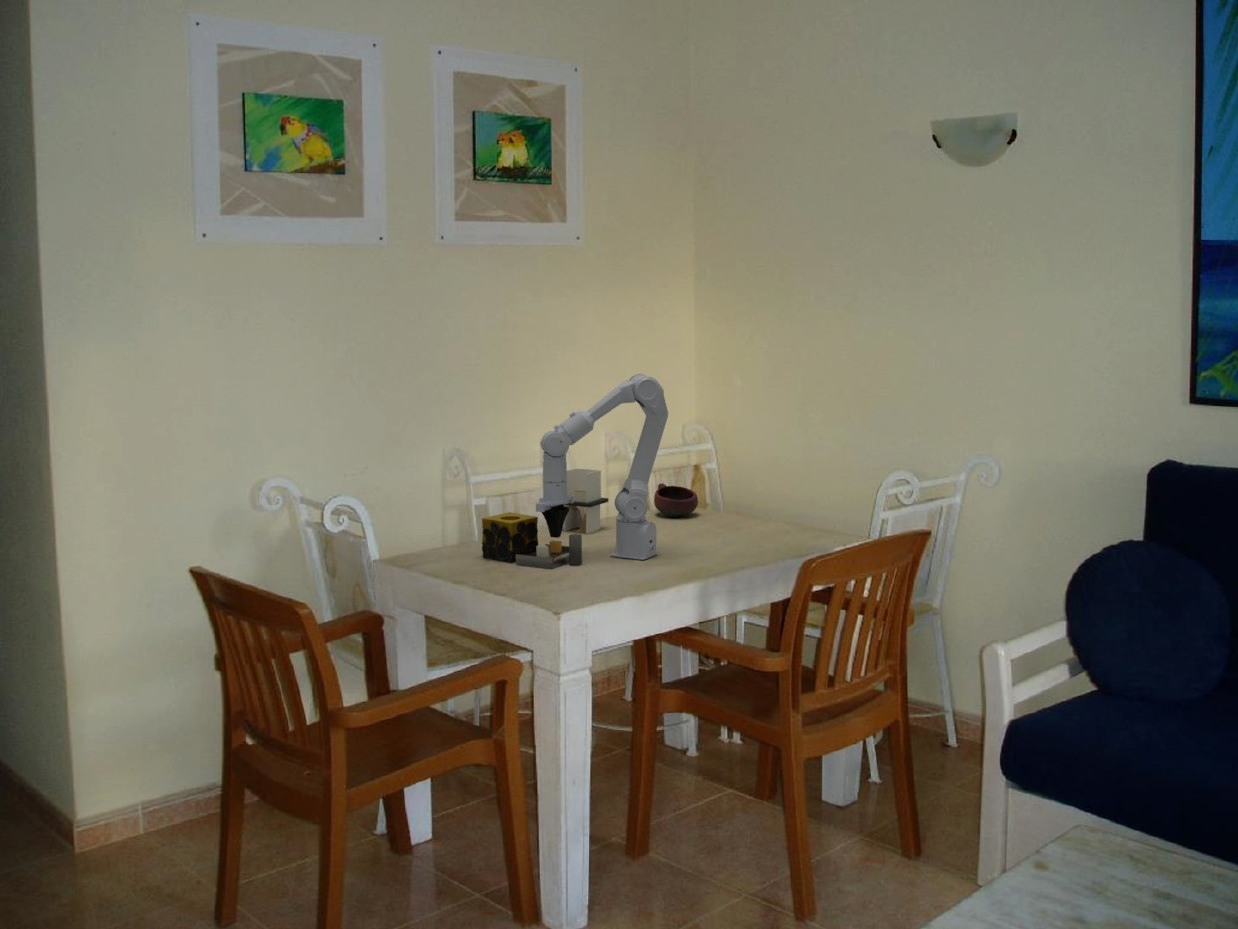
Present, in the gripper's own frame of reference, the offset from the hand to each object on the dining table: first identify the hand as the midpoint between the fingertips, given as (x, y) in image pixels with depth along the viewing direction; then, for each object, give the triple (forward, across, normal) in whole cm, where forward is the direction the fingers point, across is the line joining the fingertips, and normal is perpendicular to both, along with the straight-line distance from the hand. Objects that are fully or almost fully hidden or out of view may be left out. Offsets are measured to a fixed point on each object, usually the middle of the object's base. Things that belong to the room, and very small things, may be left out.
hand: (555, 537), depth 309 cm
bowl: (+6, -66, -1) cm, 66 cm away
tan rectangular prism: (+4, 0, 0) cm, 4 cm away
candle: (+6, +3, -11) cm, 13 cm away
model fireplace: (+6, -35, -12) cm, 37 cm away
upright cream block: (+4, +6, 0) cm, 7 cm away
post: (+5, +3, +7) cm, 9 cm away
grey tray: (+5, +3, 0) cm, 6 cm away
